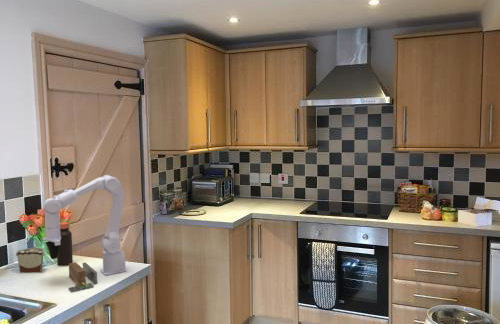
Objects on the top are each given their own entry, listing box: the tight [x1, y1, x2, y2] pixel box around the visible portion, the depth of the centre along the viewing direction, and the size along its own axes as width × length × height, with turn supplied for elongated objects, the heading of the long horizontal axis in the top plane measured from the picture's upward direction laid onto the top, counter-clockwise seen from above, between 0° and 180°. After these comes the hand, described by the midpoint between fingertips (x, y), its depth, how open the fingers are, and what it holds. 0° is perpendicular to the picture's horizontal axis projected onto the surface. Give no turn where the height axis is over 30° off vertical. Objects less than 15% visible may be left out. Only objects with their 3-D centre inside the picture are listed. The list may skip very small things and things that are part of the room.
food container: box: [15, 247, 46, 274], centre depth 196 cm, size 12×6×10 cm, turn 92°
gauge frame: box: [68, 262, 98, 294], centre depth 182 cm, size 12×19×5 cm, turn 38°
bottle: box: [56, 221, 74, 267], centre depth 204 cm, size 7×7×20 cm
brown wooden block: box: [68, 261, 87, 286], centre depth 181 cm, size 3×18×6 cm, turn 38°
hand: (53, 258), depth 181 cm, fingers closed
